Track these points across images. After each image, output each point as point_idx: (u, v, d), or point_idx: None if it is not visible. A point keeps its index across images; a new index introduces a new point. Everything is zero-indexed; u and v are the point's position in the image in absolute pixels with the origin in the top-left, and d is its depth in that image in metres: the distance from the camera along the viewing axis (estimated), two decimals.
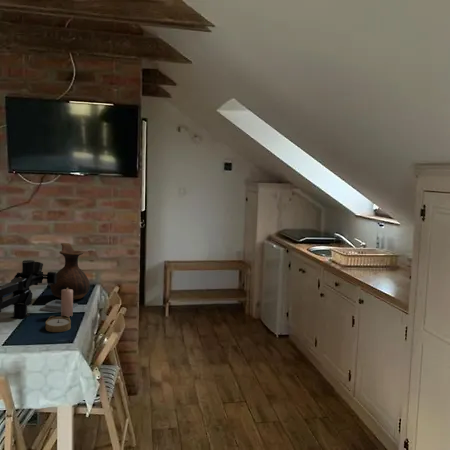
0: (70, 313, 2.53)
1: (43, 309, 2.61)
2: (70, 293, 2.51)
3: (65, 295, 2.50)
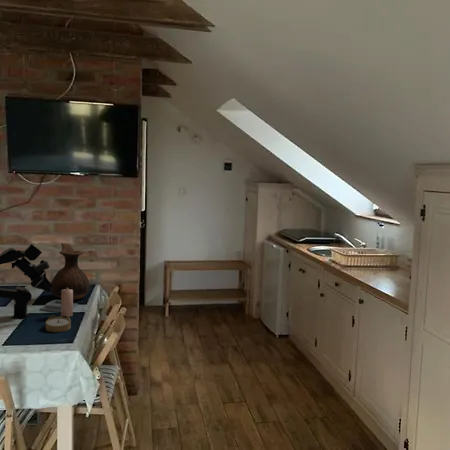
0: (70, 313, 2.53)
1: (43, 309, 2.61)
2: (70, 293, 2.51)
3: (65, 295, 2.50)
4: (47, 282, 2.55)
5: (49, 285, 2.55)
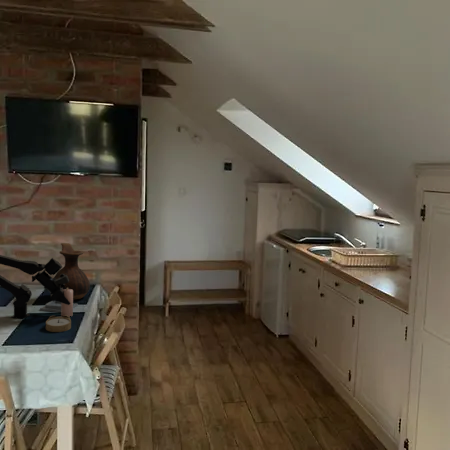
0: (70, 313, 2.53)
1: (43, 309, 2.61)
2: (70, 293, 2.51)
3: (65, 295, 2.50)
4: None
5: None
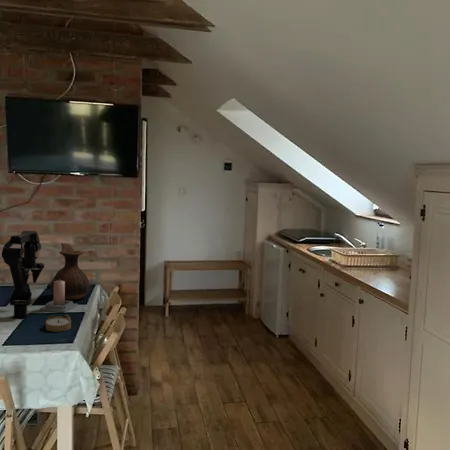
0: (64, 303, 2.66)
1: (43, 309, 2.61)
2: (64, 283, 2.65)
3: (61, 286, 2.63)
4: None
5: None
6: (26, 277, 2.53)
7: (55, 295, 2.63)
